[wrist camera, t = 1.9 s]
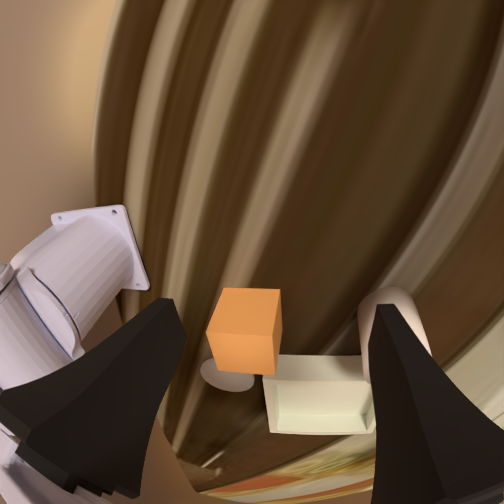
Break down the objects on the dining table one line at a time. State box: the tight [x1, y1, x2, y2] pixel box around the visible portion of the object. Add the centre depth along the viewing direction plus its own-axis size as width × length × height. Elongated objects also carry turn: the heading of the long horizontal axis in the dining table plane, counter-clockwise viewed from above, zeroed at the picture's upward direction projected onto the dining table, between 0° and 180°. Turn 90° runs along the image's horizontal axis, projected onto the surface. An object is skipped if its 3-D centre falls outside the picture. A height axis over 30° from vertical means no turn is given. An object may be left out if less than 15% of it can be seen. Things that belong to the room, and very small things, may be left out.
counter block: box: [206, 288, 282, 375], centre depth 22 cm, size 4×4×5 cm
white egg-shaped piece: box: [357, 287, 432, 385], centre depth 19 cm, size 5×5×6 cm
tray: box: [263, 355, 376, 435], centre depth 27 cm, size 13×13×3 cm
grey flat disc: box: [200, 358, 255, 392], centre depth 30 cm, size 6×6×1 cm
